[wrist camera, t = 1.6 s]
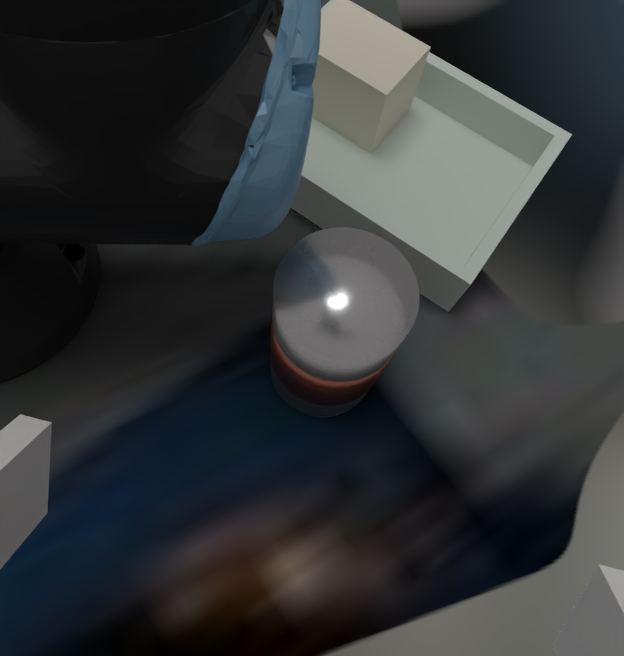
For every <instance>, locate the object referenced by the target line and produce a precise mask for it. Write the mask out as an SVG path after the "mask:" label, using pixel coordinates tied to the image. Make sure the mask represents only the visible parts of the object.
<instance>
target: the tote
mask: <svg viewBox="0 0 624 656" xmlns="http://www.w3.org/2000/svg"><path fill="white" fill-rule="evenodd" d="M334 1H335V0H330V1H329V2H328V3H327V4H326V5H325V6H324V7H323V8H322V9H321V13H322V12H324V11H325V10H326V9H327V8H328V7H329V6H330V5H331V4H332V3H333V2H334ZM571 135H572V134H570V133H568V132H567V131H565V130H563V129H561V128H560V127H558V126H556V125H554V124H553V123H551V122H549V121H548V120H546V119H544V118H542V117H541V116H539V115H537V114H535V113H533V112H532V111H530V110H528V109H527V108H525V107H523V106H522V105H520V104H518V103H516V102H515V101H513V100H511V99H509V98H508V97H506V96H504V95H503V94H501V93H499V92H497V91H495V90H494V89H492V88H490V87H489V86H487V85H485V84H483V83H482V82H480V81H478V80H477V79H475V78H473V77H471V76H470V75H468V74H466V73H464V72H463V71H461V70H459V69H458V68H456V67H454V66H452V65H451V64H449V63H447V62H445V61H444V60H442V59H440V58H438V57H437V56H435V55H433V54H431V53H430V52H429V53H428V56H427V59H426V62H425V65H424V68H423V71H422V74H421V77H420V80H419V83H418V86H417V89H416V92H415V95H414V98H413V101H412V104H411V107H410V109H409V110H408V112H407V113H406V114H405V115H404V116H403V117H402V118H401V120H400V121H399V122H398V123H397V124H396V125H395V126H394V128H393V129H392V130H391V131H390V132H389V133H388V135H387V136H386V137H385V138H384V139H383V140H382V141H381V143H380V144H379V145H378V146H377V147H376V148H375V149H374V151H373V152H372V153H371V154H370V153H369V152H367V151H365V150H364V149H362V148H361V147H359V146H357V145H356V144H354V143H353V142H351V141H349V140H348V139H346V138H345V137H343V136H341V135H340V134H338V133H337V132H335V131H333V130H332V129H330V128H329V127H327V126H325V125H324V124H322V123H321V122H319V121H317V120H316V119H314V118H313V117H312V121H311V128H310V134H309V140H308V145H307V150H306V155H305V161H304V165H303V170H302V174H301V178H300V182H299V186H298V189H297V192H296V195H295V198H294V201H293V203H292V206H291V208H292V209H293V210H295V211H296V212H298V213H299V214H301V215H302V216H304V217H305V218H307V219H308V220H310V221H311V222H313V223H314V224H316V225H317V226H319V227H320V228H322V229H328V228H336V227H347V228H355V229H361V230H364V231H367V232H370V233H373V234H375V235H377V236H379V237H381V238H383V239H385V240H386V241H388V242H389V243H390V244H392V245H393V246H394V247H395V248H396V249H397V250H399V251H400V252H401V254H402V255H403V256H404V257H405V258H406V260H407V261H408V263H409V264H410V266H411V268H412V270H413V272H414V274H415V276H416V279H417V282H418V288H419V293H420V294H422V295H423V296H425V297H426V298H428V299H429V300H431V301H432V302H434V303H435V304H437V305H438V306H440V307H441V308H443V309H444V310H446V311H447V312H449V311H450V310H451V309H452V307H453V306H454V305H455V304H456V302H457V301H458V300H459V299H460V297H461V296H462V295H463V294H464V292H465V291H466V290H467V289H468V288H469V286H470V285H471V284H472V282H473V281H474V279H475V278H476V276H477V275H478V273H479V272H480V270H481V269H482V267H483V266H484V264H485V263H486V261H487V260H488V258H489V257H490V255H491V254H492V252H493V251H494V250H495V248H496V247H497V245H498V243H499V242H500V241H501V239H502V237H503V236H504V235H505V233H506V232H507V230H508V229H509V227H510V226H511V224H512V223H513V221H514V220H515V218H516V217H517V215H518V214H519V212H520V211H521V209H522V208H523V206H524V205H525V204H526V202H527V201H528V199H529V198H530V196H531V195H532V193H533V192H534V190H535V189H536V187H537V186H538V184H539V183H540V181H541V180H542V178H543V177H544V175H545V174H546V172H547V171H548V169H549V168H550V166H551V165H552V163H553V162H554V160H555V159H556V158H557V156H558V154H559V153H560V151H561V150H562V149H563V147H564V145H565V144H566V143H567V141H568V140H569V138H570V137H571Z"/></svg>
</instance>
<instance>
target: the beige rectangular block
mask: <svg viewBox="0 0 624 656" xmlns="http://www.w3.org/2000/svg"><path fill="white" fill-rule="evenodd" d="M429 51H430V46H428V45H426V44H424V43H422V42H421V41H419V40H417V39H416V38H414V37H412V36H410V35H409V34H407V33H405V32H404V31H402V30H400V29H398V28H397V27H395V26H393V25H391V24H390V23H388V22H386V21H384V20H383V19H381V18H379V17H377V16H376V15H374V14H372V13H370V12H369V11H367V10H365V9H364V8H362V7H360V6H358V5H357V4H355V3H353V2H351V1H350V0H335V1H334V2H333V3H332V4H331V5H330V6H329V7H328V8H327V9H326V10H325V11H324V12H322V13H321V29H320V47H319V53H318V60H317V65H316V73H315V78H314V81H313V83H312V87H313V94H314V105H313V113H312V117H313V118H314V119H316V120H317V121H319V122H321V123H322V124H324V125H325V126H327V127H329V128H330V129H332V130H333V131H335V132H337V133H338V134H340V135H341V136H343V137H345V138H346V139H348V140H349V141H351V142H353V143H354V144H356V145H357V146H359V147H361V148H362V149H364V150H365V151H367V152H369V153H370V154H371V153H372V152H373V151H374V149H375V148H376V147H377V146H378V145H379V144H380V143H381V141H382V140H383V139H384V138H385V137H386V136H387V135H388V133H389V132H390V131H391V130H392V129H393V128H394V126H395V125H396V124H397V123H398V122H399V121H400V120H401V118H402V117H403V116H404V115H405V114H406V113H407V112H408V110H409V109H410V107H411V104H412V101H413V98H414V95H415V92H416V89H417V86H418V83H419V80H420V77H421V74H422V71H423V68H424V65H425V62H426V59H427V56H428V53H429Z"/></svg>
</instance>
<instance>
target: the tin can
mask: <svg viewBox="0 0 624 656" xmlns="http://www.w3.org/2000/svg"><path fill="white" fill-rule="evenodd" d="M419 300H420V298H419V288H418V282H417V279H416V276H415V274H414V272H413V270H412V268H411V266H410V264H409V263H408V261H407V260H406V258H405V257H404V256H403V255H402V254H401V252H400V251H399V250H397V249H396V248H395V247H394V246H393V245H392V244H390V243H389V242H388V241H386V240H385V239H383V238H381V237H379V236H377V235H375V234H373V233H370V232H367V231H364V230H361V229H355V228H347V227H336V228H328V229H323V230H320V231H316V232H314V233H311V234H309V235H307V236H305V237H304V238H302V239H300V240H299V241H298V242H296V243H295V244H294V245H293V246H292V247H291V248H290V249H289V250H288V251H287V252H286V254H285V255H284V256H283V258H282V259H281V261H280V263H279V265H278V268H277V270H276V273H275V278H274V285H273V307H272V313H271V337H270V356H271V360H270V371H271V377H272V381H273V384H274V387H275V389H276V391H277V392H278V394H279V395H280V397H281V398H282V399H283V400H284V401H285V402H286V403H287V404H288V405H289V406H290V407H292V408H293V409H295V410H296V411H298V412H300V413H302V414H305V415H308V416H313V417H321V418H325V417H333V416H338V415H340V414H343V413H345V412H347V411H349V410H351V409H352V408H353V407H355V406H356V405H357V404H358V403H359V402H360V401H361V400H362V398H363V397H364V396H365V394H366V393H367V392H368V390H369V389H370V388H371V387H372V385H373V384H374V383H375V382H376V380H377V379H378V377H379V376H380V374H381V373H382V372H383V370H384V369H385V367H386V366H387V365H388V363H389V362H390V360H391V359H392V357H393V356H394V354H395V353H396V351H397V349H398V347H399V346H400V344H401V343H402V341H403V340H404V339H405V337H406V336H407V334H408V333H409V331H410V330H411V328H412V326H413V324H414V322H415V320H416V317H417V313H418V309H419Z"/></svg>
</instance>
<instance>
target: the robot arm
mask: <svg viewBox="0 0 624 656" xmlns="http://www.w3.org/2000/svg"><path fill="white" fill-rule="evenodd" d="M320 29H321V0H0V382H1V381H4V380H8V379H11V378H13V377H16V376H18V375H21V374H23V373H25V372H27V371H29V370H31V369H33V368H35V367H36V366H38V365H40V364H41V363H43V362H45V361H46V360H47V359H49V358H50V357H52V356H53V355H54V354H55V353H57V352H58V351H59V350H60V349H61V348H62V347H63V346H64V345H65V344H67V343H68V341H69V340H70V339H71V338H72V337H73V336H74V335H75V333H76V332H77V331H78V330H79V328H80V327H81V325H82V324H83V323H84V321H85V319H86V318H87V316H88V314H89V312H90V310H91V308H92V305H93V303H94V300H95V297H96V294H97V290H98V285H99V277H100V264H99V256H98V252H97V248H96V245H95V244H169V245H191V246H201V245H204V244H206V243H208V242H215V241H229V240H243V239H255V238H259V237H262V236H265V235H267V234H269V233H271V232H272V231H274V230H275V229H276V228H277V227H278V226H279V225H280V224H281V223H282V221H283V220H284V219H285V217H286V216H287V214H288V212H289V210H290V208H291V206H292V203H293V201H294V198H295V195H296V192H297V189H298V186H299V182H300V178H301V174H302V170H303V165H304V161H305V155H306V150H307V145H308V140H309V134H310V128H311V121H312V113H313V105H314V94H313V87H312V83H313V81H314V78H315V73H316V65H317V60H318V53H319V47H320ZM51 427H52V422H48V421H44V420H40V419H36V418H33V417H29V416H25V415H21V414H20V415H19V416H18V417H16V418H15V419H14V420H13V421H12V422H10V423H9V424H8V425H7V426H6V427H4V428H3V429H2V430H1V431H0V569H1V568H2V567H3V565H4V564H5V563H6V562H7V561H8V560H9V558H10V557H11V556H12V555H13V554H14V552H15V551H16V550H17V549H18V548H19V546H20V545H21V544H22V543H23V542H24V540H25V539H26V538H27V537H28V536H29V534H30V533H31V532H32V531H33V530H34V528H35V527H36V526H37V525H38V524H39V522H40V521H41V520H42V519H43V518H44V516H45V515H46V514H47V510H48V489H49V468H50V447H51ZM552 648H553V651H554V653H555V656H624V571H622V570H618V569H614V568H611V567H607V566H603V565H598V566H597V568H596V570H595V571H594V573H593V575H592V577H591V578H590V580H589V582H588V584H587V585H586V587H585V589H584V590H583V592H582V594H581V595H580V597H579V599H578V601H577V602H576V604H575V606H574V608H573V609H572V611H571V613H570V615H569V616H568V618H567V620H566V622H565V623H564V625H563V627H562V628H561V630H560V632H559V633H558V635H557V637H556V639H555V640H554V642H553V644H552Z"/></svg>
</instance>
